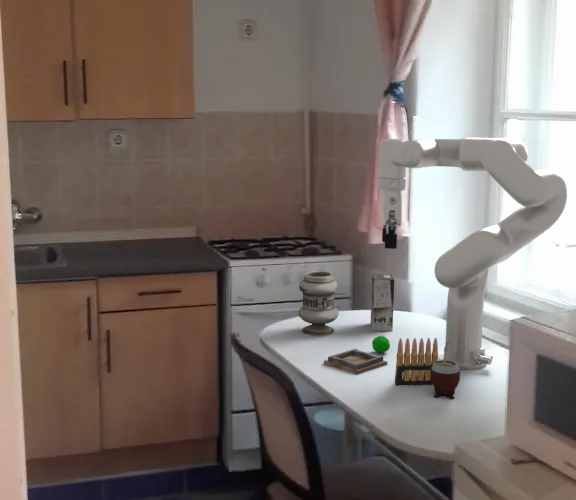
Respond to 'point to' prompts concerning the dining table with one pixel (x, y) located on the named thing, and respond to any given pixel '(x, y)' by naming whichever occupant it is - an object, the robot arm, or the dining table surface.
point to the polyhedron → (381, 344)
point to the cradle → (355, 361)
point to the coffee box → (382, 302)
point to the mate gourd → (445, 377)
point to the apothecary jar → (318, 302)
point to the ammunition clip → (415, 363)
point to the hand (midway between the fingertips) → (389, 245)
